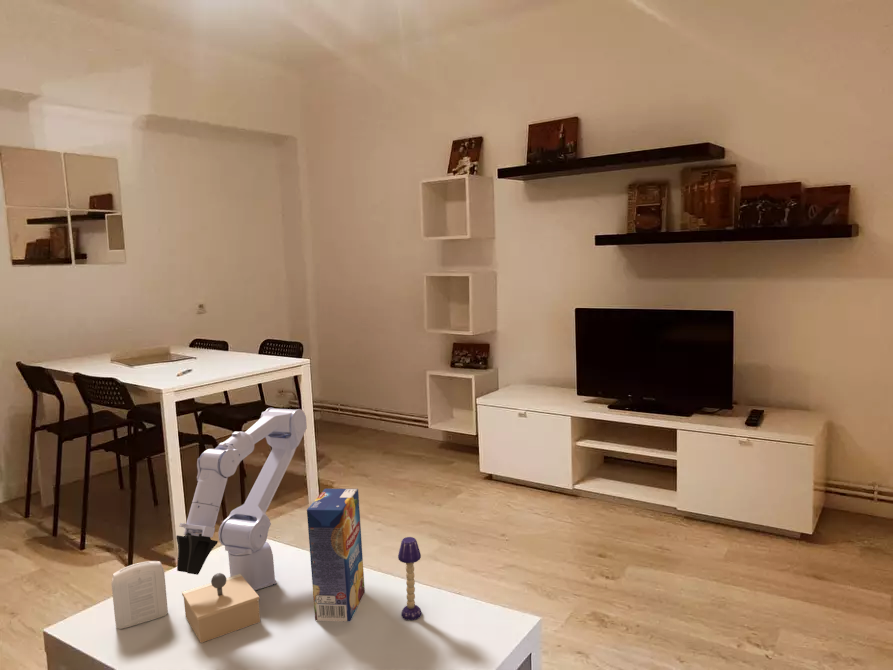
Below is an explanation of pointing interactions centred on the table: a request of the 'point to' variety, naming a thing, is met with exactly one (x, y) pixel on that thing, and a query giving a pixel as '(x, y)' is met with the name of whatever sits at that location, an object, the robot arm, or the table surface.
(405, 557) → the toy lamp
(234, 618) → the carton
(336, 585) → the juice carton
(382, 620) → the table surface
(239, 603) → the lid
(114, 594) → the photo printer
